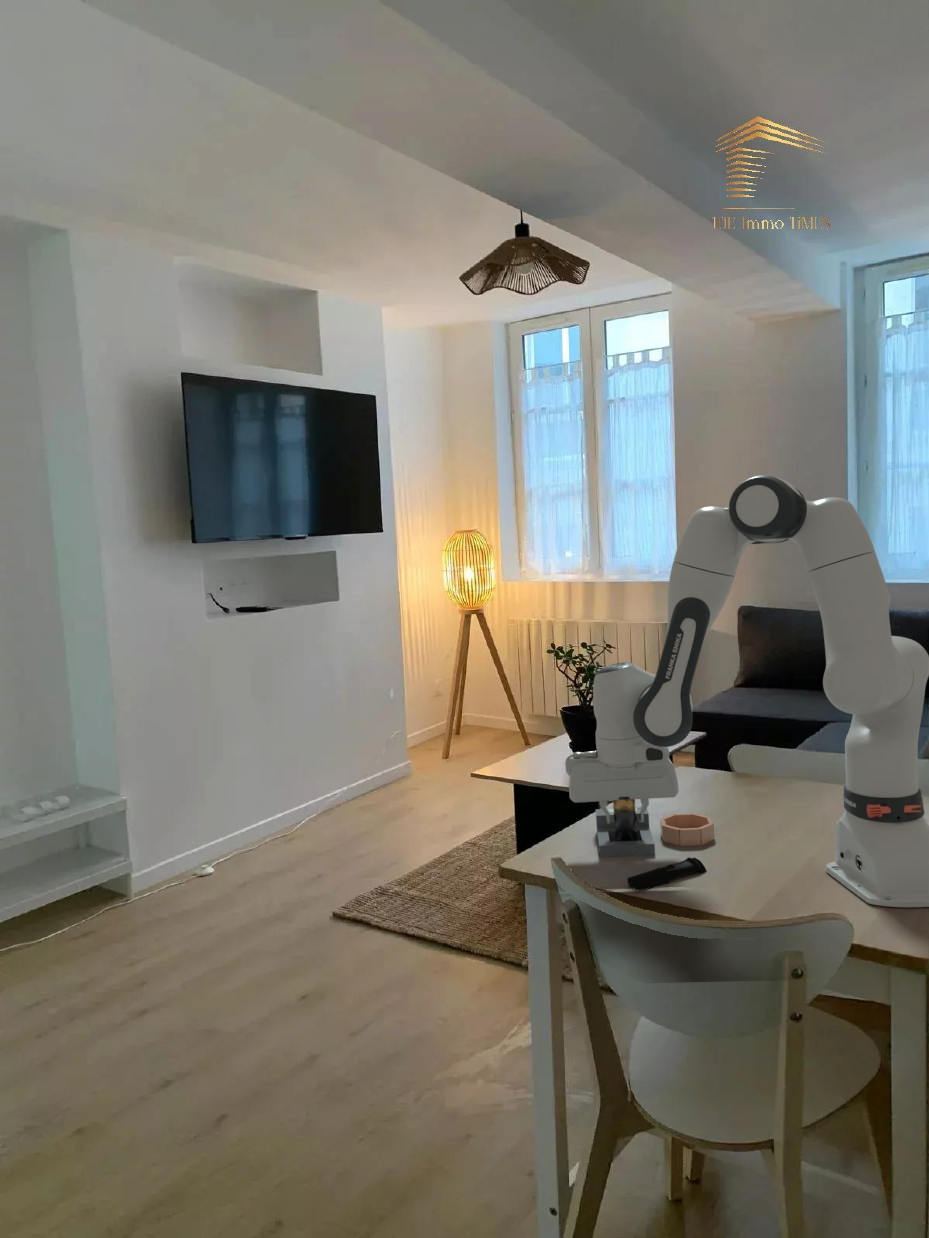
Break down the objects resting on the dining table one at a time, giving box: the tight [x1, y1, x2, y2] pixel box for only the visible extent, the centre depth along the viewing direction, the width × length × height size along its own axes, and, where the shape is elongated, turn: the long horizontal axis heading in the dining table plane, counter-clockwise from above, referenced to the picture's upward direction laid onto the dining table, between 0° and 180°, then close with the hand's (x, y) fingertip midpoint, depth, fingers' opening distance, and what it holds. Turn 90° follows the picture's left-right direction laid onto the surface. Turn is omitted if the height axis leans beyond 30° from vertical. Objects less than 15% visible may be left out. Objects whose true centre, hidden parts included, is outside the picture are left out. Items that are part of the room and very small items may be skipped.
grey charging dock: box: [595, 807, 656, 858], centre depth 179 cm, size 14×10×5 cm
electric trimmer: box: [626, 857, 707, 891], centre depth 160 cm, size 4×16×3 cm, turn 117°
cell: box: [612, 797, 637, 842], centre depth 176 cm, size 4×4×10 cm
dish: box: [659, 812, 715, 847], centre depth 180 cm, size 10×10×4 cm
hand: (625, 821), depth 176 cm, fingers closed on cell, 4 cm apart
